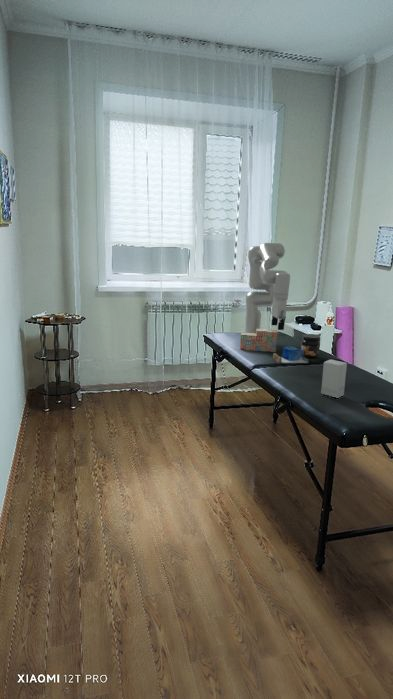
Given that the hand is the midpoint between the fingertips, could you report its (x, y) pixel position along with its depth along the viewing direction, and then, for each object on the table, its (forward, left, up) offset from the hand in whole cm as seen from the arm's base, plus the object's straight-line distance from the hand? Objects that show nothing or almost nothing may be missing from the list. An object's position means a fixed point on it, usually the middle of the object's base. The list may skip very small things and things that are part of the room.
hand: (277, 327), depth 249 cm
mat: (+1, +10, -19) cm, 21 cm away
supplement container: (-8, +24, -19) cm, 32 cm away
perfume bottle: (0, +6, -15) cm, 16 cm away
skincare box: (+55, +7, -19) cm, 58 cm away
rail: (+1, +1, -19) cm, 19 cm away
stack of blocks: (-23, -2, -19) cm, 30 cm away
